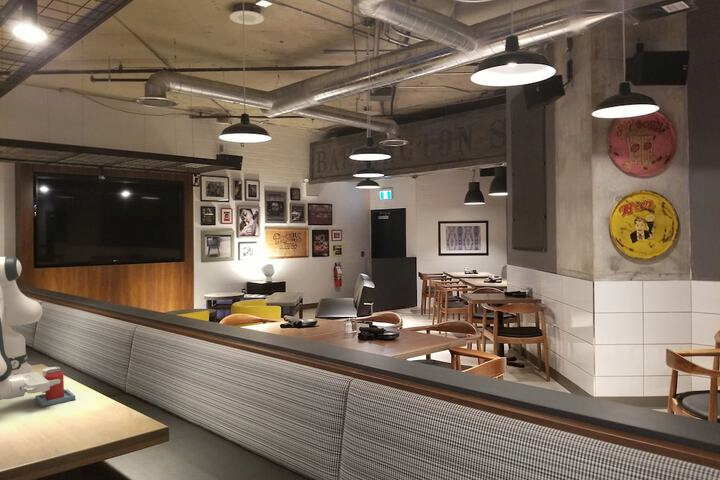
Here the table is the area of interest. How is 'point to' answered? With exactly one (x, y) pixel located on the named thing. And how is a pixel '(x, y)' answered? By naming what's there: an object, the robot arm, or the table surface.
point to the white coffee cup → (47, 370)
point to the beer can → (57, 389)
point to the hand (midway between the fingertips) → (57, 378)
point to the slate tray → (44, 403)
